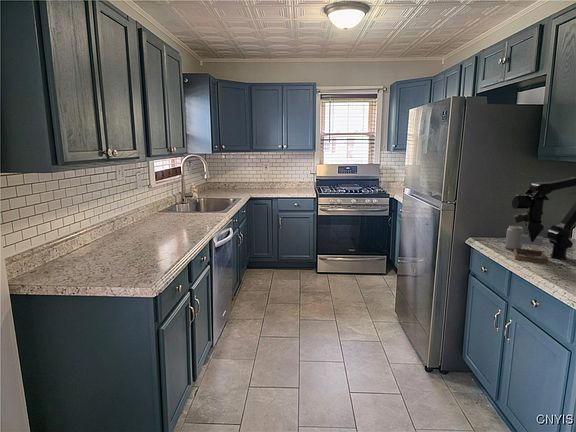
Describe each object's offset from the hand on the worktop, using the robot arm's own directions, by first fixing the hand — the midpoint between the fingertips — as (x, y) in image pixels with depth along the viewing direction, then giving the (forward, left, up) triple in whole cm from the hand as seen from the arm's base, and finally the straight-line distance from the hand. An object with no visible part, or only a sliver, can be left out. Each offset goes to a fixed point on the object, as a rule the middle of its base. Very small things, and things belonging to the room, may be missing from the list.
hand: (531, 240), depth 181 cm
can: (-14, -6, -9) cm, 17 cm away
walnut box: (0, 0, -9) cm, 9 cm away
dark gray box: (0, 0, -2) cm, 2 cm away
